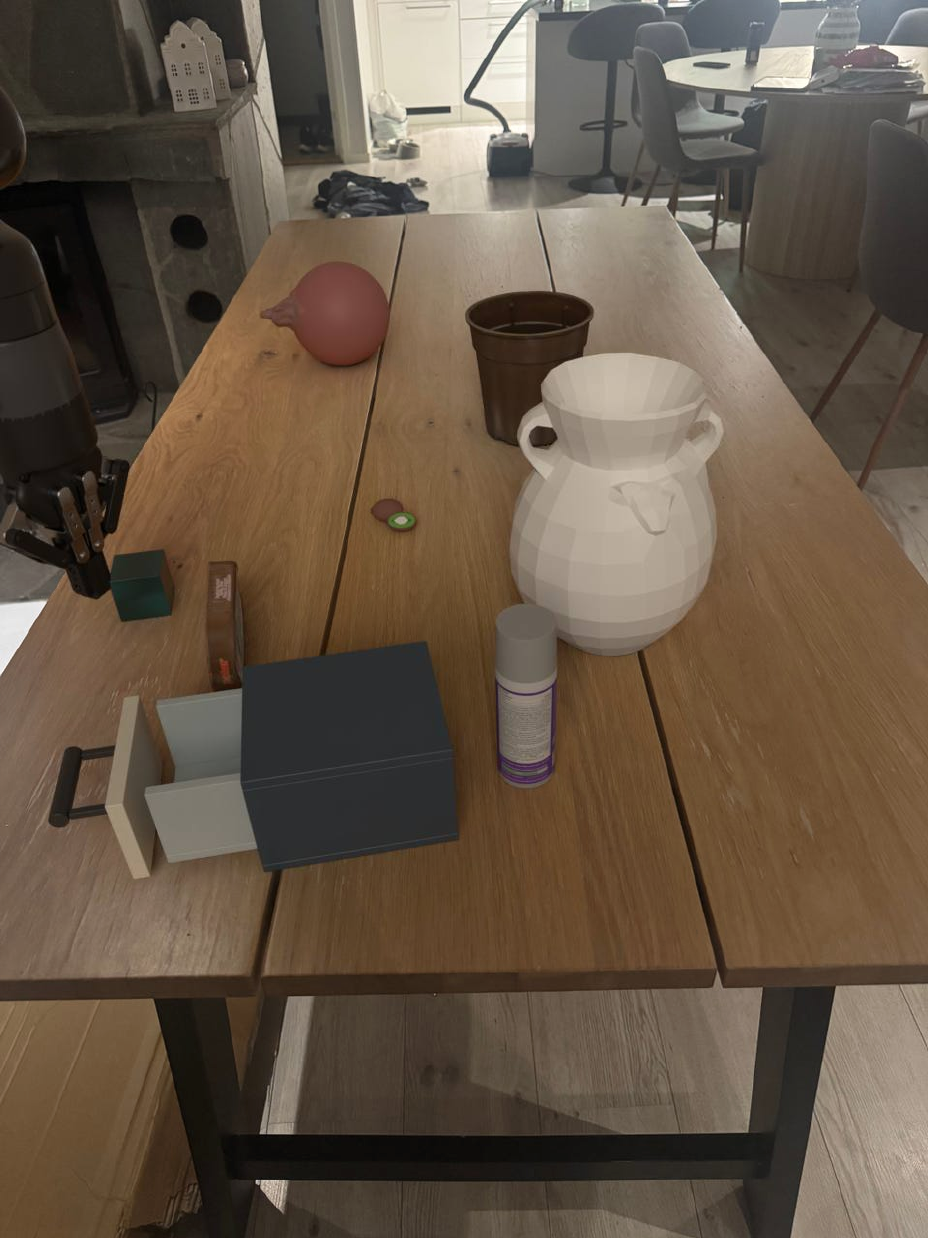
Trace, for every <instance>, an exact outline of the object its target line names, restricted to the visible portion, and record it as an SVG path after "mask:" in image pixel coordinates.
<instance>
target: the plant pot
mask: <svg viewBox="0 0 928 1238" xmlns="http://www.w3.org/2000/svg"><path fill="white" fill-rule="evenodd" d="M594 315H595V309H594V306H593V305H592V304H591V303H590V302H588V301H587V300H585V299H584V298H581V297H579V296H577V295H573V294H569V293H566V292H559V291H552V290H551V291H550V290H528V291H525V290H524V291H513V292H512V291H511V292H505V293H500V294H495V295H492V296H489V297H486V298H483V299H480V300H478V301H476V302H474V303H472V304H471V305H470V306H469V307H468V308H467V309H466V310H465V313H464V318H465V323H466V324H467V325H468V326H469V331H470V338H471V344H472V345H471V346H472V349H473V350H474V351H475V357H476V363H477V369H478V375H479V383H480V390H481V396H482V405H483V413H484V421H485V428H486V431H487V433H488V434H489V436H490V437H491V438H492V439H494V440H496V441H499V440H502V441H504V442H505V443H506V444H507V445H511V446H518V447H520V446H519V442H518V439H517V432H518V428H519V425H520V423H521V420H522V417H523V416H524V415H525V414H526V413H527V412H528V411H529V410H530V409H532V408H534V407H535V406H537V405H538V404H540V403H541V402H543V399H542V392H541V384H542V382H543V381H544V380H545V378H546V377H547V375H548V374H549V373H550V371H551V370H552V369H554V368H556V367H557V366H559V365H561V364H563V363H564V362H567V361H570V360H574V359H577V358H581V357H584V351H585V350H584V349H585V348H586V345H587V343H588V337H589V330H590V322H592V320H593V319H594ZM557 439H558V438H557V435H556V432H555V431H554V429H553V428H551V427H544V426H536V427H535V428H533V429H532V430H531V432H530V434H529V440H530V444H531V445H532V446H533V447H539V446H540V447H541V446H545V445H552V444H553V443H554V442H555V441H556V440H557Z"/></svg>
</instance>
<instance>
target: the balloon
mask: <svg viewBox="0 0 928 1238" xmlns="http://www.w3.org/2000/svg"><path fill="white" fill-rule="evenodd" d="M390 311H391V310H390V305H389V300H388V298H387V295H386V292H385V290H384V288H383V286H382V285H381V284H380V282H379V281H378V280H377V278H376V277H374V275H372V274H371V273H370V272H369V271H368V270H366V269H365V268H363V267H361V266H359V265H357V264H354V263H352V262H348V261H340V260H339V261H328V262H324V263H322V264H319V265H317V266H315V267H313V268H311V269H310V270H309V271H307V272H306V273H305V274H304V275H303V276H302V277H301V279H300V280H299V281H298V283H296V286H295V287H294V288H293V289H292V290H291V291H290V292H289V294H288V296H287V297H284V298H283V299H282V300H280V302H278V303H277V304H276V305H274V306H273V307H271V308H267V309H265V310H261V311H260V313H259V316H260V319H264V320H265V319H266V320H271V322H272V324H273V325H275V326H276V327H277V328H283V327H285V328H288V329H290V330H291V331H292V332H293V333H294V335H295V338H296V339H297V341H298V342H299V344H300V345H301V346H302V348H303V349H304V350H305V351H306V352H307V353H308V354H310V355H311V356H312V357H313V358H315V359H316V360H318V361H321V362H323V363H325V364H329V365H332V366H341V367H343V366H352V365H356V364H357V363H358V364H359V363H361V362H363V361H365V360H367V359H369V358H370V357H372V356H373V354H375V353H376V352H377V350H379V348H380V347H381V345H382V344H383V342H384V341H385V338H386V336H387V334H388V331H389V326H390V320H391V318H390V317H391V315H390V314H391V312H390Z"/></svg>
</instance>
